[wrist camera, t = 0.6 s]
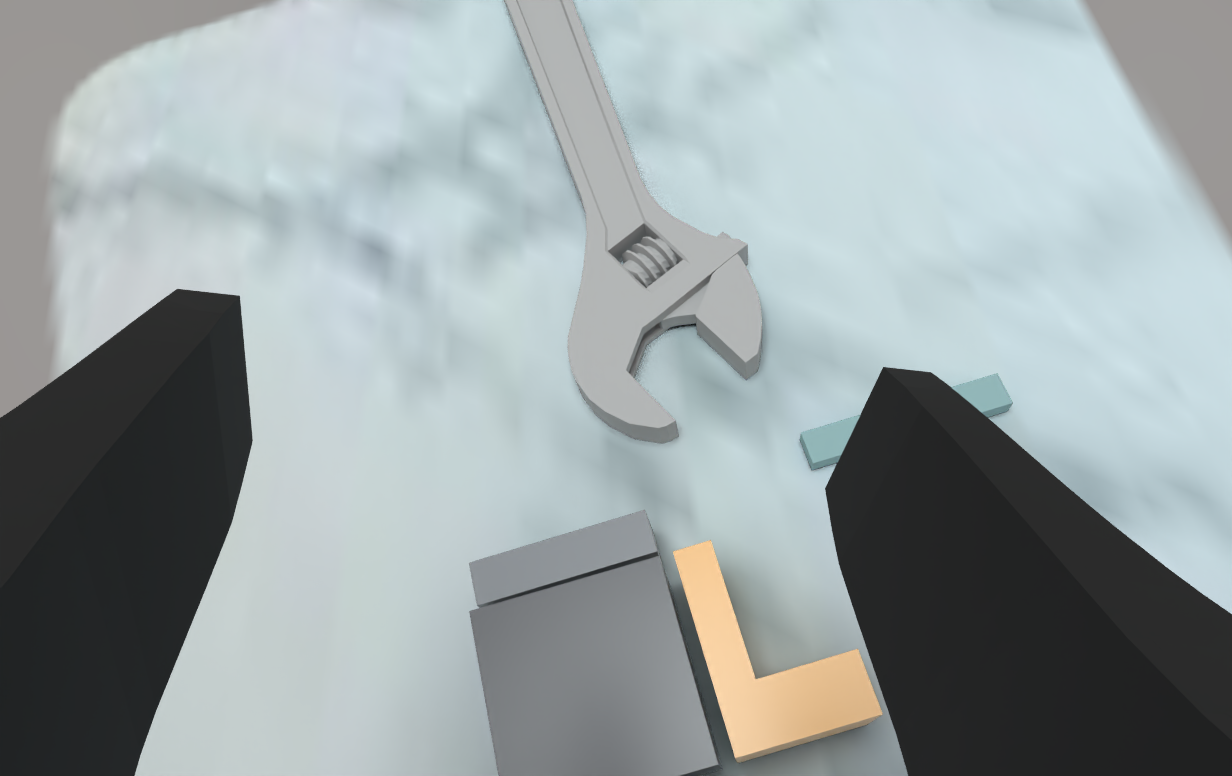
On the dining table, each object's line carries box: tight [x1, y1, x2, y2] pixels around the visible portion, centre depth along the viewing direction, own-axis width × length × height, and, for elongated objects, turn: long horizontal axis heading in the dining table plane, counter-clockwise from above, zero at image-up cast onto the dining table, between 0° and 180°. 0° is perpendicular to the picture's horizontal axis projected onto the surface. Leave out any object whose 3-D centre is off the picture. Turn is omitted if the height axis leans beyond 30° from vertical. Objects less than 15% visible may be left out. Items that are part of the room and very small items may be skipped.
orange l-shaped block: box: [673, 540, 883, 763], centre depth 23 cm, size 5×4×3 cm
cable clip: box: [469, 510, 664, 608], centre depth 23 cm, size 8×5×2 cm, turn 15°
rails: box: [800, 374, 1013, 470], centre depth 24 cm, size 11×6×1 cm, turn 15°
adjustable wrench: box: [504, 0, 762, 443], centre depth 32 cm, size 25×6×2 cm, turn 13°
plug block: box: [469, 556, 722, 776], centre depth 23 cm, size 5×5×4 cm
